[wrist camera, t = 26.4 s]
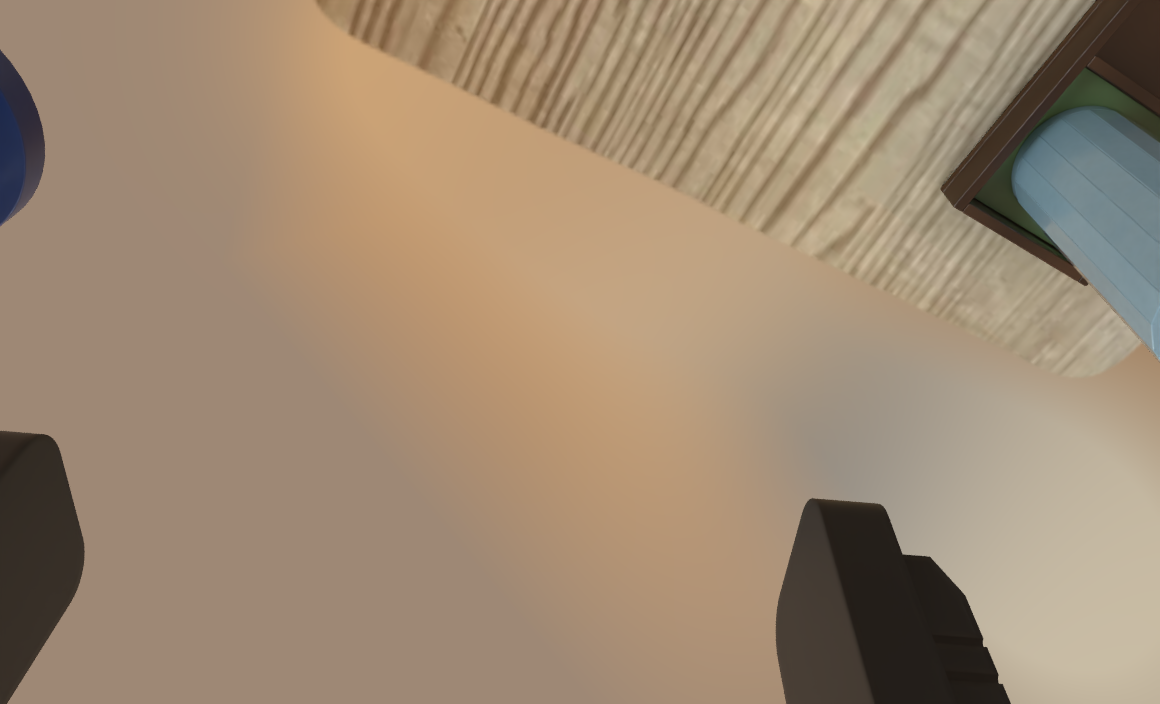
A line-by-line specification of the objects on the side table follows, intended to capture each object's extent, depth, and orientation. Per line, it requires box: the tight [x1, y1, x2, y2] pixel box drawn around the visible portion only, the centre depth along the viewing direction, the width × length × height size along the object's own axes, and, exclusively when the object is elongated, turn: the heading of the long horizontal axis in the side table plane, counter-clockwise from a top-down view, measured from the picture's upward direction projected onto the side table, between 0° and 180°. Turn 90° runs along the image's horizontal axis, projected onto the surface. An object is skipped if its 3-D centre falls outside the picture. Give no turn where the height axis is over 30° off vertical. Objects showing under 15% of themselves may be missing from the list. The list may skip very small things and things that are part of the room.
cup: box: [1011, 106, 1160, 362], centre depth 36 cm, size 5×5×13 cm
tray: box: [941, 0, 1160, 286], centre depth 40 cm, size 8×15×2 cm, turn 150°
